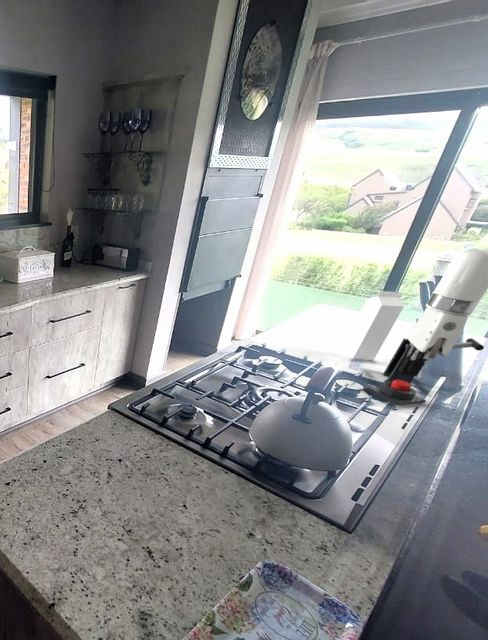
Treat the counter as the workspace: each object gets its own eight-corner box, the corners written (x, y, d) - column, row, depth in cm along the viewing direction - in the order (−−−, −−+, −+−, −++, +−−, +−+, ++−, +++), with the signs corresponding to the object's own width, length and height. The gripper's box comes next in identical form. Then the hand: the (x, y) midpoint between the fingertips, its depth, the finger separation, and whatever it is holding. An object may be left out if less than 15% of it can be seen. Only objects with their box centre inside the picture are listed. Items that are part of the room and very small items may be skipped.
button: (396, 384, 106) (400, 379, 105) (411, 391, 103) (414, 385, 102) (386, 385, 105) (390, 380, 104) (400, 392, 102) (404, 386, 101)
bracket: (411, 382, 115) (437, 341, 109) (424, 396, 108) (452, 354, 102) (364, 372, 119) (386, 333, 113) (373, 386, 112) (397, 344, 106)
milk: (371, 364, 125) (411, 296, 114) (350, 362, 125) (387, 294, 114) (358, 355, 130) (394, 289, 119) (338, 354, 131) (372, 287, 120)
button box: (388, 391, 110) (396, 378, 108) (421, 407, 103) (430, 394, 101) (362, 393, 108) (370, 381, 106) (394, 410, 102) (403, 397, 100)
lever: (473, 344, 105) (474, 336, 104) (483, 352, 101) (484, 343, 100) (403, 350, 112) (403, 342, 111) (410, 357, 108) (410, 349, 107)
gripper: (490, 317, 86) (439, 390, 95) (457, 298, 97) (414, 365, 106) (443, 310, 89) (398, 382, 98) (417, 293, 100) (379, 358, 109)
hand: (407, 373), depth 102 cm, fingers closed
